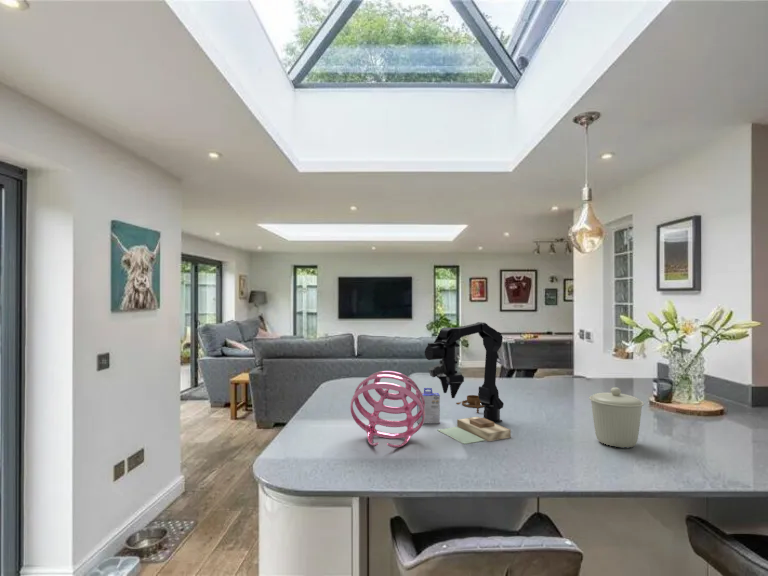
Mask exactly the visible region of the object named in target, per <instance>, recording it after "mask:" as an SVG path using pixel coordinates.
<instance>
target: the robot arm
mask: <svg viewBox="0 0 768 576" xmlns="http://www.w3.org/2000/svg"><path fill="white" fill-rule="evenodd" d="M474 334H478V335H479V336H480V338H481V339H482V345H483V347H484V350H485V363H484V375H483V376H484V379H483V380H484V381H483V384H482V385H481V386H478V392H477V396H479V400H480V401H481V404H480V405H484V407H483V418H485V419H488V420H490V421H493V422H494V423H495V424H496V423H501V422H503V420H502V419H501V413H500V412H501V409H504V402H503V401H502V400H501V398H500V396H499V389H498V387H497V385H496V384H497V383H496V382H497V381H496V379H497V378H496V377H497V366H498V365H497V362H498V352H499V350H500V349H501V347H502V345H503V335H502V333H501V332H499V331H497V330H496V329H495V328H493V327H491V326H490V325H488V323H486V322H482V321H481V322H479V321H478V322H475V323H470V324H467V325H464V326H458V327H442V328H441V329H440V330H439V333H438V335H437V337H436V338H435V340H434V342H433V343H432V342H428V343H427V346H426V347H425V350H424V356H425V358H426V359H427V360H428V361H434V360H439V363H437V364H435V365H432V366H430V367H428V368H427V371H428V373H429V375H430V377H432V378H437V379H439V381H440V385H441V388H442V390H443V394H447V392H448V389H450V396H451V397H450V398H451V399H456V395H457V393H458V391H459V389H460V388H461V385H462V384H463V383H464V382H465V377H464V375H463V374H461V373H459V372H458V370H456V366H457V365H456V364H458V360H456V359H457V358H456V348H458V347H460V344H459V343H458V342H457V341H460V340H461V338H463V337H466V336H470V335H474Z"/></svg>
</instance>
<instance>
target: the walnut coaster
mask: <svg viewBox="0 0 768 576" xmlns="http://www.w3.org/2000/svg"><path fill="white" fill-rule="evenodd" d="M470 424H472V425H475V426H477V427H479V428H485V427H491V426H494V422H493V421H490V420H488V419H485V418H484V417H480V418H478V419H471V420H470Z"/></svg>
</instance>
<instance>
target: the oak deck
mask: <svg viewBox="0 0 768 576" xmlns="http://www.w3.org/2000/svg"><path fill="white" fill-rule="evenodd" d="M478 418H481V417H480V416H473V417H466V418H459V419H457V420H456V423H457V424H456V427H459V428H461V429H463V430H465V431H468V432H470V433H472V434H474V435H476V436H478V437H480V438H482V439H485V440H486V441H487V442H492V441H497V440H504V439H510V438H511V436H512V435H511V432H512V431H511V429H510V428H507V427H505V426H502V425H500V424H497V423H496V422H495V423H494V426H491V427H485V428H479V427H477V426H475V425H472V424H470V420H471V419H478ZM486 441H485V442H486Z"/></svg>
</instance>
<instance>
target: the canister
mask: <svg viewBox="0 0 768 576" xmlns="http://www.w3.org/2000/svg"><path fill="white" fill-rule="evenodd" d="M589 400H590V401H591V402H590V403H591V410H592V419H593V426H594V431H595V436H596V439H597V441H599V442H600V443H601V444H603V443H604V444H603V445H605V444H606V446H608V445H610V446H609V447H611V446H616V447H631V448H634V447H635V446H636V445H637V443H638V439H639V435H640V434H639V433H640V425H641V416H642V407H643V406H644V405H645V403H644V401H642V400H641V399H640V398H638V397H636V396H633V395H630V394H626V393H622V390H621V388H619V387H611V388H610V392H597V393H594V394H593V395H592V394H591V395H590V396H589ZM616 447H615V448H616Z"/></svg>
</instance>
